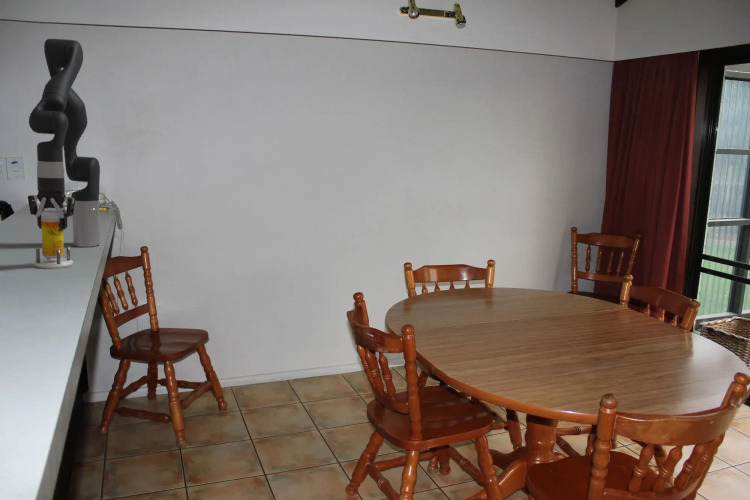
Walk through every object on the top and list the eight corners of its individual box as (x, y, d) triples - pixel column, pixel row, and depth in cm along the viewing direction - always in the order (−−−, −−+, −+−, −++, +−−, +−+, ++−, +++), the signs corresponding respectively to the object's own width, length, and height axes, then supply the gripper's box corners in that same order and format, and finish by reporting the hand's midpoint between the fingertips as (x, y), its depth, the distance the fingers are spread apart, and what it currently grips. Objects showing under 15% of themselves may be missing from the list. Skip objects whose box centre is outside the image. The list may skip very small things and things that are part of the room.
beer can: (57, 259, 188) (56, 212, 185) (38, 258, 188) (36, 210, 185) (67, 255, 194) (66, 210, 191) (49, 254, 194) (47, 208, 191)
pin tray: (45, 260, 197) (44, 243, 196) (79, 262, 197) (78, 245, 196) (26, 267, 186) (26, 249, 185) (62, 269, 186) (61, 251, 185)
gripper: (79, 176, 190) (81, 228, 193) (34, 173, 190) (36, 226, 193) (68, 178, 183) (69, 232, 186) (20, 175, 183) (23, 229, 185)
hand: (52, 228), depth 189 cm, fingers closed on beer can, 6 cm apart
